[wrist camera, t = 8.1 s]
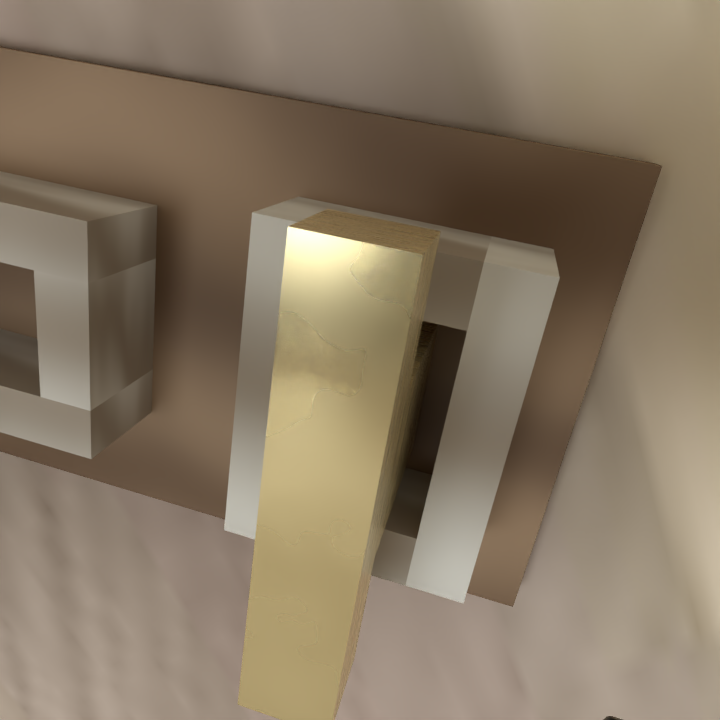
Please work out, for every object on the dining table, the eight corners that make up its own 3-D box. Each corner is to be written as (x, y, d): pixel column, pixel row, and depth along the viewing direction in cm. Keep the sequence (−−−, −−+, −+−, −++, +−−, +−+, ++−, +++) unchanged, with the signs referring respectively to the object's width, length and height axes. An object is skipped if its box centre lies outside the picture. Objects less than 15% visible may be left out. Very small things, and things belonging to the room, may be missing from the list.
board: (513, 584, 20) (510, 689, 16) (-70, 410, 23) (-179, 464, 20) (653, 163, 15) (695, 177, 11) (-121, 25, 18) (-281, 1, 15)
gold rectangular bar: (467, 197, 15) (423, 254, 9) (395, 529, 19) (329, 736, 13) (386, 182, 15) (287, 226, 9) (332, 511, 19) (237, 704, 13)
